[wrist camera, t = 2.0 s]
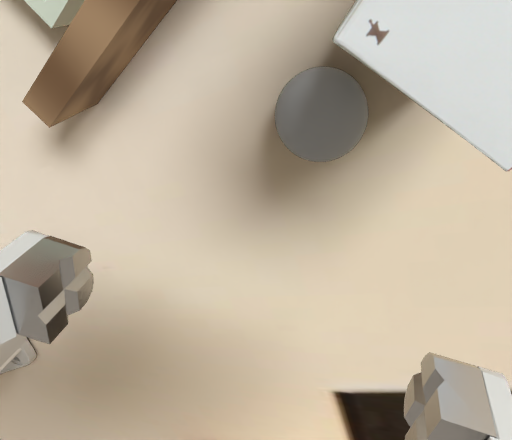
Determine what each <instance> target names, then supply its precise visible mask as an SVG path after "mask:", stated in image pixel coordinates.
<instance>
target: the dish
mask: <svg viewBox="0 0 512 440" xmlns="http://www.w3.org/2000/svg"><path fill="white" fill-rule="evenodd" d="M24 1H25V2H26V3H27V4H28V5H29V6H30V7H31V8H32V9H33V10H34V11H35V12H36V13H37V14H38V15H39V16H40V17H41V18H42V19H43V20H44V21H45V22H46V23H47V24H48V25H49V27H50V28H51V29H52V28H57V27H62V26H66V25H70V23H71V22H72V20H73V18H74V17H75V15H76V14H77V12H78V10H79V9H80V7H81V6H82V4H83V2H84V1H85V0H24Z"/></svg>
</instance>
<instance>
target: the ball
mask: <svg viewBox="0 0 512 440" xmlns="http://www.w3.org/2000/svg"><path fill="white" fill-rule="evenodd" d="M367 121H368V104H367V99H366V96H365V94H364V92H363V90H362V88H361V86H360V85H359V84H358V82H357V81H356V80H355V79H354V78H352V77H351V76H350V75H349V74H347V73H345V72H344V71H341V70H339V69H336V68H332V67H315V68H311V69H307V70H305V71H303V72H301V73H299V74H297V75H296V76H295V77H294V78H292V79H291V80H290V81H289V82H288V83H287V84H286V86H285V87H284V88H283V90H282V92H281V93H280V95H279V98H278V100H277V104H276V109H275V124H276V128H277V132H278V134H279V136H280V139H281V140H282V142H283V143H284V145H285V146H286V147H287V148H288V149H289V150H290V151H291V152H292V153H294V154H295V155H297V156H298V157H300V158H303V159H305V160H309V161H314V162H326V161H331V160H334V159H337V158H339V157H342V156H343V155H345V154H347V153H348V152H349V151H351V150H352V149H353V148H354V147H355V146H356V145H357V143H358V142H359V141H360V139H361V138H362V136H363V134H364V131H365V129H366V126H367Z"/></svg>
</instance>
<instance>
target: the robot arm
mask: <svg viewBox="0 0 512 440" xmlns="http://www.w3.org/2000/svg"><path fill="white" fill-rule="evenodd" d="M91 261H92V260H91V253H90V250H89V249H87V248H85V247H82V246H79V245H76V244H73V243H70V242H67V241H64V240H61V239H58V238H55V237H52V236H48V235H45V234H42V233H39V232H36V231H33V230H32V231H27V232H25V233H23V234H22V235H21V236H19V237H18V238H16V239H15V240H14V241H12V242H11V243H10V244H8V245H7V246H6V247H4V248H3V249H2V250H0V374H2V373H5V372H8V371H11V370H14V369H17V368H20V367H23V366H26V365H29V364H30V363H31V362H32V361H33V360H34V359H35V358H36V353H35V351H34V349H33V347H32V346H31V344H30V343H29V341H28V339H27V337H28V338H31V339H35V340H38V341H41V342H44V343H47V344H50V343H51V342H52V341H53V340H54V339H55V338H56V337H57V336H58V334H59V333H60V332H61V331H62V330H63V329H64V328H65V327H66V325H67V324H68V315H70V314H72V313H75V312H77V311H80V309H81V308H82V307H83V306H84V305H85V304H86V302H87V301H88V299H89V296H90V294H91V292H92V289H93V283H94V281H93V274H92V273H91V271H90V270H89V269H88V267H87V265H88V264H89V263H90V262H91ZM404 418H405V419H406V421H407V422H408V424H409V426H410V427H411V428H410V430H409V431H408V433H407V434H406V436H405V440H512V395H511V391H510V388H509V385H508V381H507V378H506V377H505V376H504V375H503V374H502V373H498V372H495V371H492V370H488V369H485V368H481V367H476V366H474V365H471V364H468V363H464V362H461V361H458V360H454V359H451V358H447V357H444V356H441V355H437V354H434V353H430V352H429V353H428V354H427V355H425V357H424V358H423V360H422V362H421V373H418V374H416V375H413V377H412V379H411V381H410V383H409V384H408V387H407V391H406V395H405V402H404ZM0 440H1V439H0Z"/></svg>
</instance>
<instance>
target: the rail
mask: <svg viewBox="0 0 512 440" xmlns="http://www.w3.org/2000/svg"><path fill="white" fill-rule="evenodd" d="M176 1H177V0H85V1H84V2H83V4H82V6H81V7H80V9H79V10H78V12H77V14H76V15H75V17H74V18H73V20H72V22H71V23H70V25H69V27H68V28H67V30H66V31H65V33H64V35H63V36H62V38H61V40H60V41H59V43H58V44H57V46H56V48H55V49H54V51H53V52H52V54H51V56H50V57H49V59H48V61H47V62H46V64H45V65H44V67H43V69H42V70H41V72H40V74H39V75H38V77H37V78H36V80H35V82H34V83H33V85H32V86H31V88H30V90H29V91H28V93H27V95H26V96H25V98H24V99H23V101H22V102H23V103H24V104H25V105H26V106H27V107H28V108H29V109H30V110H31V111H33V112H34V113H35V114H36V115H37V116H38V117H39V118H40V119H41V120H42V121H43V122H44V123H45V124H46V125H47V126H48V127H49V128H50V127H52V126H54V125H56V124H58V123H60V122H62V121H64V120H66V119H68V118H70V117H72V116H74V115H76V114H78V113H80V112H82V111H84V110H86V109H88V108H90V107H92V106H94V105H96V104H98V102H99V101H100V100H101V98H102V97H103V96H104V94H105V93H106V92H107V91H108V89H109V88H110V87H111V85H112V84H113V83H114V81H115V80H116V79H117V78H118V76H119V75H120V74H121V72H122V71H123V70H124V68H125V67H126V66H127V65H128V63H129V62H130V61H131V59H132V58H133V57H134V55H135V54H136V53H137V52H138V50H139V49H140V48H141V46H142V45H143V44H144V42H145V41H146V40H147V39H148V37H149V36H150V35H151V33H152V32H153V31H154V29H155V28H156V27H157V25H158V24H159V23H160V22H161V20H162V19H163V18H164V16H165V15H166V14H167V12H168V11H169V10H170V9H171V7H172V6H173V5H174V3H175V2H176Z"/></svg>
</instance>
